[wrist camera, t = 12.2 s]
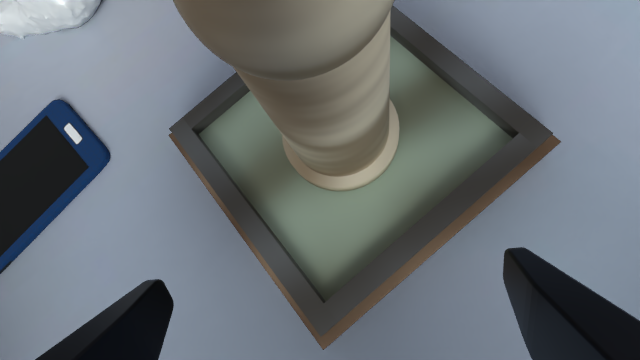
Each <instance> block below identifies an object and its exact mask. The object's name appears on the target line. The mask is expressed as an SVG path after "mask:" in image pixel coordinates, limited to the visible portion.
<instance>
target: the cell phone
mask: <svg viewBox="0 0 640 360" xmlns="http://www.w3.org/2000/svg"><path fill="white" fill-rule="evenodd" d="M109 160H110V153H109V151H108V150H107V148H106V147H105V145H104V144H103V143H102V142H101V141H100V140H99V139H98V137H97V136H96V135H95V134H94V133H93V132H92V130H91V129H90V128H89V127H88V126H87V125H86V124H85V122H84V121H83V120H82V119H81V118H80V117H79V116H78V114H77V113H76V112H75V111H74V110H73V109H72V107H71V106H70V105H69V104H67V103H66V102H64V101H62V100H54V101H52V102H51V103H50V104H49V105H48V106H47V107H46V108H44V109H43V110H42V111H41V112H40V113H39V114H38V115H37V116H36V117H35V118H34V119H33V120H32V121H31V122H30V123H29V124H28V125H27V126H26V127H25V128H24V129H23V130H22V131H21V132H20V133H19V134H18V135H17V136H16V137H15V138H14V139H13V140H12V141H11V142H10V143H9V144H8V145H7V146H6V147H5V148H4V149H3V150H2V151H1V152H0V274H1V273H2V272H3V271H4V270H5V269H6V268H7V267H8V266H9V265H10V264H11V263H12V262H13V261H14V260H15V259H16V258H17V256H18V255H19V254H20V253H21V252H22V251H23V250H24V249H25V248H26V247H27V246H28V245H29V244H30V243H31V242H32V241H33V240H34V239H35V238H36V237H37V236H38V235H39V234H40V233H41V232H42V231H43V230H44V229H45V228H46V227H47V226H48V225H49V224H50V223H51V222H52V221H53V220H54V219H55V218H56V217H57V216H58V215H59V214H60V213H61V212H62V211H63V210H64V209H65V207H66V206H67V205H68V204H69V203H70V202H71V201H72V200H73V199H74V198H75V197H76V196H77V195H78V194H79V193H80V192H81V191H82V190H83V189H84V188H85V187H86V186H87V185H88V184H89V183H90V182H91V181H92V180H93V179H94V178H95V177H96V176H97V175H98V174H99V173H100V172H101V171H102V170H103V168H104V167H105V166H106V165H107V163H108V162H109Z"/></svg>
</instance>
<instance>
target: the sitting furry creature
mask: <svg viewBox="0 0 640 360" xmlns="http://www.w3.org/2000/svg"><path fill="white" fill-rule="evenodd" d="M100 2H101V0H0V33H2V34H4V35H8V36H17V37H19V38H21V39H24V37H25V36H33V35H38V34H47V33H49V32H57V31H61V29H69V28H78V27H79V26H82V25H83V24H84V23H85V22H88V20H89V19H90V18H91V17H92V16H93V14H94V13H95V12H96V10H97V8H98V6H99V4H100Z"/></svg>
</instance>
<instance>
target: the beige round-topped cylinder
mask: <svg viewBox="0 0 640 360" xmlns="http://www.w3.org/2000/svg"><path fill="white" fill-rule="evenodd" d="M173 2H174V4H175V6H176V7H177V9H178V11H179V13H180V15H181V16H182V18H183V19H184V21H185V22H186V24H187V25H188V27H189V28H190V29H191V31H192V32H193V33H194V34H195V36H196V37H197V38H198V39H199V40H200V41H201V42H202V43H203V44H204V45H205V46H206V47H207V48H208V49H209V50H210V51H211V52H212V53H214V54H215V55H216V56H218V57H219V58H220V59H222V60H223V61H225V62H226V63H228V64H229V65H231V66H233V68H234V69H235V70H236V72H237V73H238V74H239V76H240V77H241V79H242V80H243V81H244V83H245V84H246V85H247V87H248V88H249V90H250V91H251V92H252V94H253V95H254V97H255V98H256V99H257V101H258V102H259V103H260V105H261V106H262V108H263V109H264V110H265V112H266V113H267V114H268V116H269V117H270V119H271V120H272V121H273V123H274V124H275V126H276V127H277V128H278V130H279V131H280V132H281V134H282V141H283V147H284V151H285V153H286V156H287V158H288V160H289V161H290V163H291V164H292V166H293V167H294V168H295V169H296V171H297V172H298V173H299V174H300V175H301V176H302V177H303V178H304V179H305V180H307V181H308V182H309V183H311V184H313V185H315V186H316V187H319V188H322V189H325V190H330V191H350V190H355V189H358V188H361V187H364V186H366V185H368V184H370V183H371V182H373V181H375V180H376V179H377V178H378V177H380V176H381V175H382V174H383V173H384V172H385V171H386V170H387V168H388V167H389V165H390V164H391V162H392V160H393V159H394V156H395V154H396V151H397V147H398V141H399V119H398V114H397V112H396V109H395V107H394V105H393V103H392V101H391V100H390V12H391V7H392V5H393V3H394V0H173Z"/></svg>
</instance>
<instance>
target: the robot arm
mask: <svg viewBox="0 0 640 360" xmlns="http://www.w3.org/2000/svg"><path fill="white" fill-rule="evenodd" d="M503 279H504V284H505V287H506V290H507V293H508V296H509V299H510V301H511V304H512V307H513V310H514V313H515V316H516V319H517V322H518V325H519V327H520V330H521V333H522V336H523V339H524V341H525V344H526V347H527V349H528V351H529V353H530V356H531V358H532V360H640V321H639V320H638V319H636V318H635V317H633V316H632V315H630V314H628V313H627V312H625V311H624V310H622V309H621V308H619V307H617V306H616V305H614V304H613V303H611V302H610V301H608V300H606V299H605V298H603V297H602V296H600V295H599V294H597V293H595V292H594V291H592V290H591V289H589V288H588V287H586V286H584V285H583V284H581V283H580V282H578V281H577V280H575V279H573V278H572V277H570V276H569V275H567V274H566V273H564V272H562V271H561V270H559V269H558V268H556V267H555V266H553V265H551V264H550V263H548V262H547V261H545V260H544V259H542V258H540V257H539V256H537V255H536V254H534V253H533V252H531V251H529V250H528V249H526V248H522V247H521V248H509V249H507V250H505V253H504V267H503ZM173 306H174V304H173V299H172V297H171V295H170V293H169V291H168V289H167V288H166V286H165V284H164V282H163V281H162V280H159V279H155V280H147V281H145V282H143V283H142V284H140V285H139V286H137V287H136V288H135V289H133V290H132V291H130V292H129V293H128V294H126V295H125V296H123V297H122V298H121V299H119V300H118V301H116V302H115V303H114V304H112V305H111V306H110V307H108V308H107V309H105V310H104V311H103V312H101V313H100V314H98V315H97V316H96V317H94V318H93V319H91V320H90V321H89V322H87V323H86V324H84V325H83V326H82V327H80V328H79V329H77V330H76V331H75V332H73V333H72V334H70V335H69V336H68V337H66V338H65V339H63V340H62V341H61V342H59V343H58V344H56V345H55V346H54V347H52V348H51V349H49V350H48V351H47V352H45V353H44V354H42V355H41V356H40V357H38V358H37V359H35V360H158V358H159V355H160V352H161V349H162V345H163V342H164V338H165V335H166V332H167V328H168V325H169V321H170V318H171V315H172V311H173Z"/></svg>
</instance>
